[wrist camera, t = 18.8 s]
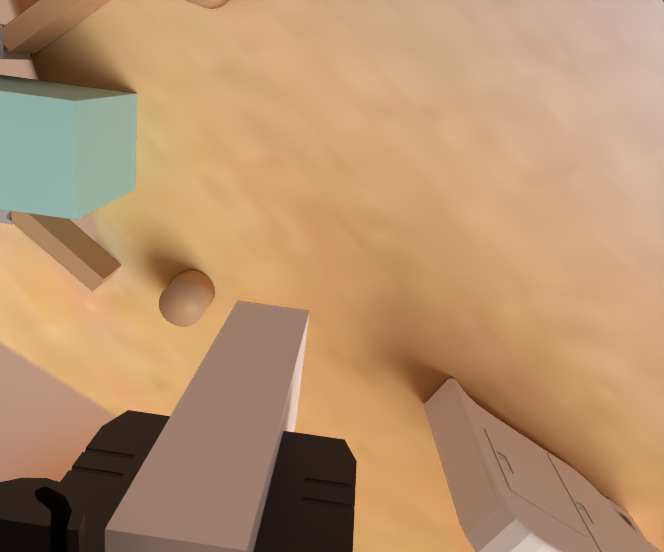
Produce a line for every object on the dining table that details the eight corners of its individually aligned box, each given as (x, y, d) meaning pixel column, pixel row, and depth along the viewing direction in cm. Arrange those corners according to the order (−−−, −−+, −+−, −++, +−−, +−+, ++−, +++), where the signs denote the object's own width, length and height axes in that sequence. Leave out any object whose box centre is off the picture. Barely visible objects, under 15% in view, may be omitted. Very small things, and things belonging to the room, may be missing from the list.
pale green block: (-53, 67, 32) (-165, 68, 25) (137, 93, 31) (74, 100, 25) (-45, 163, 33) (-149, 188, 27) (136, 189, 33) (76, 219, 26)
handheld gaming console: (591, 514, 40) (419, 406, 36) (622, 487, 39) (450, 373, 35) (688, 686, 30) (465, 563, 26) (734, 655, 29) (510, 522, 25)
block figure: (-77, -85, 29) (-115, -97, 27) (237, -43, 29) (225, -53, 27) (-46, 275, 35) (-75, 289, 33) (213, 312, 35) (202, 329, 33)
